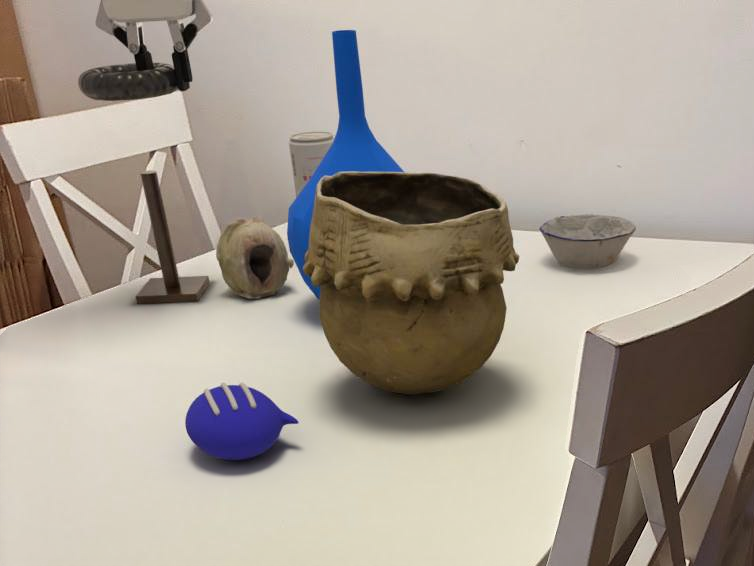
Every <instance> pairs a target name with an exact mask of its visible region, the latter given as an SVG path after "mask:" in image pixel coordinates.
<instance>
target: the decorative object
mask: <svg viewBox="0 0 754 566" xmlns="http://www.w3.org/2000/svg"><path fill="white" fill-rule="evenodd" d="M185 415H186V416H185V421H184V424H185V429H186V433H187V435H188V437H189V439H190V441H192V443H193V444H194V445H195V446H196V447H197V448H199V449H200V450H201V451H202V452H204V453H206V454H207V455H209V456H211V457H215V458H218V459H222V460H227V461H228V460H229V461H241V460H247V459H251V458H252V459H253V458H254V457H257V456H259V455H262V454H263V453H265V452H266V451H268V450H269V449H270V448H272V446H274V444H275V443H276V442H277V440H278V438H279V436H280V435H281V432H282V430H283V427H284V426H287V425H298V424H299V420H298V419H297V418H296V417H295V416H293V415H291V414H289V413H287V412H286V411H283V410H282V409H281V408H280V407H279V406H278V405H277V404H276V403H275V402H274V401H273V400H272V399H271V398H270V397H269V396H267V395H266V394H264V393H263V392H261V390H260V391H259V390H257V389H255V388H254V387H250V386H247V384H246V383H244V382H242V381H241V382H239V384H227V383H225V382H220V386H217V387H212V388H211V389H209V388H204V390H203V392H202V393H201V394H199V395H198V396H197V397H196V398H195V399H194V400H193V401H191V404H190V405H189V407H188V409H187V412H186V414H185Z"/></svg>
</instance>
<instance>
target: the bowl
mask: <svg viewBox="0 0 754 566" xmlns="http://www.w3.org/2000/svg"><path fill="white" fill-rule="evenodd" d="M636 227H637V226H636V224H635V223H634V222H632V221H631V220H629V219H626V218H622V217H619V216H614V215H603V214H602V215H601V214H600V215H599V214H593V213H588V214H587V213H586V214H578V215H577V214H576V215H572V214H571V215H565V216H564V215H561V216H555V217H554V218H552V219H550V220H548V221H546V222H544V223H543V224H541V225H540V227H539V231H540V232H541V234H542V236H543V238H544V240H545V242H546V244H547V245H548V247H549V249H550V251H551V253H552V255H553V256H554V258H555V260H556V261H557V263H558V264H559V265H560V266H563V267H566V268H570V269H576V270H577V269H579V270H590V269H591V270H592V269H599V268H605V267H608V266H611V265H613V264H614V263H615V262H616V260H617V259H618V257H619V256H620V254H621V252H622V251H623V249H624V248H625V246H626V244H627V243H628V241H629V240H630V238H631V237H632V236H633V234H634V232H635V231H636Z"/></svg>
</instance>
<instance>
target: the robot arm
mask: <svg viewBox="0 0 754 566" xmlns="http://www.w3.org/2000/svg"><path fill="white" fill-rule="evenodd" d="M194 15H195V18H194V19H192V20H191V22H189V23H187V24H185V21H184V19H187V18H188V17H192V16H194ZM213 21H214V16H213V14H212V13H211V11H210V10H209V8H208V6H207V5H206V4H205V2H204V1H203V0H100V2H99V6H98V9H97V14H96V17H95V26H96V27H97V29H99V30H101V31H102V32H105V33H107V34H108V35H110V36H113V37H114V38H116V39H117V40H118V41H119V42H120V43H121V44H122V45H123V46H125V48H127V49H128V51H129V52H130V54H132V55H133V58H134V63H136V68H137V71H142V70H149V69H154V66H153V63H154V62H153V61H154V60H153V57H152V53H151V52H150V50H148V47H147V46H146V43H145V34H144V23H146V22H148V23H149V22H166V23H167V27H168V29H169V33H170V37H171V39H172V43H173V46H172V48H173V52H172V53H171V58H172V65H173V66H174V71H175V76H176V81H177V86H178V90H177V91H180V92H186V91H187V90H189V89H191V84H190V83H192V82H193V73H192V72H193V71H192V66H191V61H190V56H189V51H188V49H189V48H190V47H191V44H192V43H193V42H194V40H195V38H196V37H197V36H198V34H199V33H200V32H201V31H202V30H204V29H205V28H206V27H208V25H210V24H211V23H212V22H213ZM119 23H125V26H123V25H120V24H119Z"/></svg>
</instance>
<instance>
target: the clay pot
mask: <svg viewBox="0 0 754 566" xmlns="http://www.w3.org/2000/svg"><path fill="white" fill-rule="evenodd" d="M304 260H305V262H306V264H305V265H304V266H303V271H304V273H305V275H308V276H310V277H311V281H312V284H313V285H314V286H315V287H317V286H321V290H320V301H319V309H318V312H319V313H318V314H319V321H320V324H321V327H322V331H323V333H324V336H325V338H326V341H327V343H328V345H329V347H330V349H331V350H332V352H333V354H334V355H335V356H336V357H337V359H338V360H339V362H340V363H341V364H343V366H344V367H345V368H347V369H348V371H350V372H351V373H352V374H353V375H354V376H356V377H357V378H358V379H360V380H362V381H364V382H365V383H366V384H369V385H371V386H373V387H375V388H377V389H380V390H383V391H386V392H390V393H395V394H405V395H408V394H409V395H418V394H419V395H421V394H428V393H435V392H440V391H443V390H447V389H450V388H452V387H455V386H457V385H458V384H460V383H462V382H464V381H466V380H468V379H469V378H470V377H471V376H473V375H474V374H476V373H477V372H478V371H479V370H481V368H482V367H483V366H484V365H485V364H486V363H487V361H488V360H489V359H490V358H491V357H492V355H493V353H494V351H495V350H496V348H497V346H498V344H499V343H500V340H501V337H502V334H503V331H504V327H505V322H506V316H507V309H508V307H507V303H506V299H505V295H504V289H503V287H502V284H503V283H504V281H505V276H504V275H505V274H504V272H514V271H515V270H516V266H517V264H519V260H520V255H519V254H518V253H517V252H516V249H515V247H514V236H513V231H512V228H511V224H510V217H509V209H508V204H507V201H506V200H505V199H504V198H503V197H502V196H500V195H499V194H498V193H497V192H494V191H492V190H491V189H489V188H487V187H486V186H484V185H483V184H482V183H480V182H478V181H476V180H474V179H471V178H466V177H462V176H459V175H451V174H441V173H435V172H406V171H404V172H356V171H348V172H338V173H336V174H334V175H333V176H327V175H325V176H324V177H322V178H321V179H320V181H319V182H318V184H317V187H316V194H315V200H314V209H313V217H312V221H311V227H310V235H309V250H308V251H307V252H306V254H305V259H304Z"/></svg>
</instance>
